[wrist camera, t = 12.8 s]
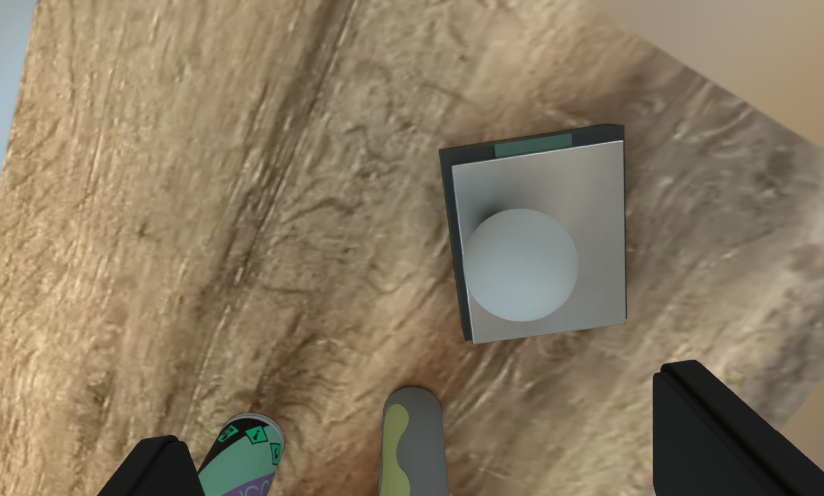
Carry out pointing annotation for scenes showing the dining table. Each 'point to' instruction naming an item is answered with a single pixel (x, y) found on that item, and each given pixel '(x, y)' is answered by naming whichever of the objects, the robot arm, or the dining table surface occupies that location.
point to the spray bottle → (412, 445)
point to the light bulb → (520, 264)
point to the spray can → (243, 457)
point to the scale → (556, 197)
